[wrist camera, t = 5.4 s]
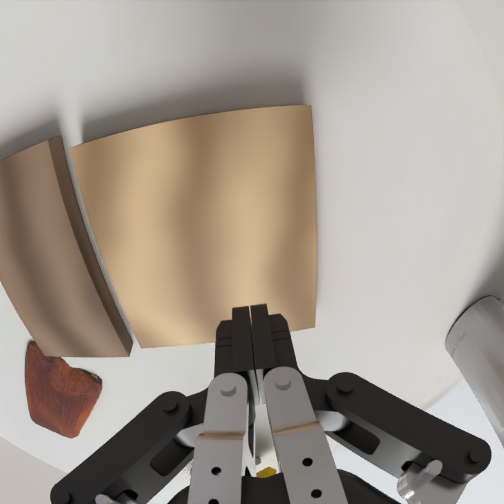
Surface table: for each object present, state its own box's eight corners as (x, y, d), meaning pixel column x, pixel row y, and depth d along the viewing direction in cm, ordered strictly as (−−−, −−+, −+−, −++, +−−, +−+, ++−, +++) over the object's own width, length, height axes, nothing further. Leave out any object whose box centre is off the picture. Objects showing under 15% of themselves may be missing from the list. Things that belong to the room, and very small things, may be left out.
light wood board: (304, 104, 16) (311, 105, 14) (310, 315, 24) (314, 327, 22) (80, 143, 15) (69, 148, 14) (144, 335, 23) (141, 348, 22)
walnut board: (61, 135, 15) (47, 139, 14) (133, 342, 24) (129, 356, 22) (-24, 175, 15) (-37, 181, 13) (50, 344, 24) (44, 356, 22)
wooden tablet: (29, 331, 24) (23, 342, 22) (108, 374, 27) (105, 386, 26) (26, 414, 33) (24, 422, 31) (76, 439, 36) (74, 447, 35)
